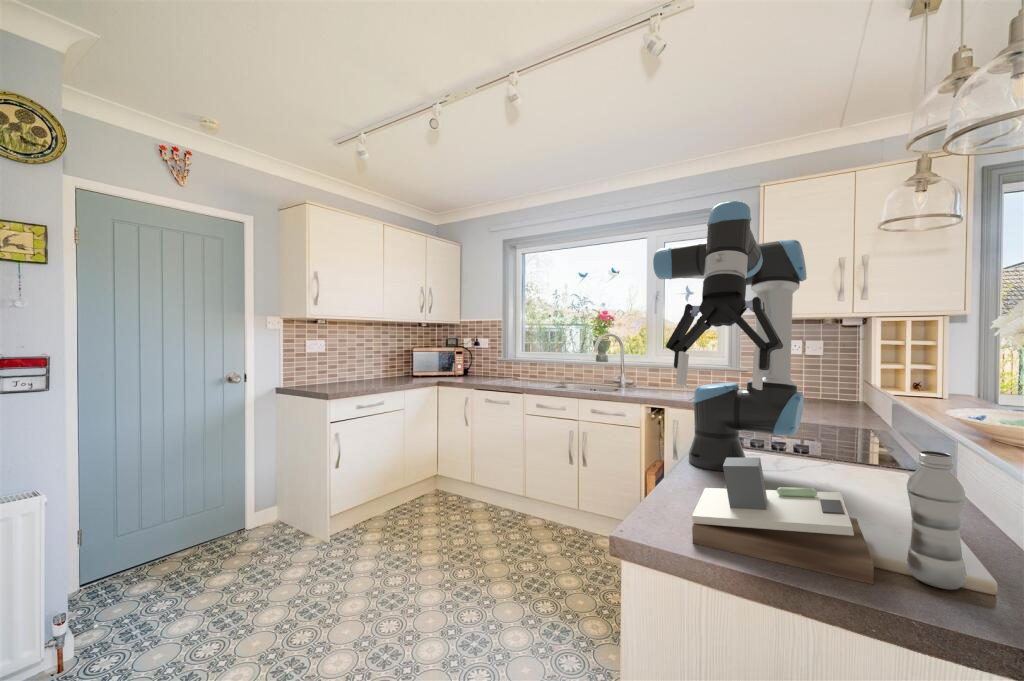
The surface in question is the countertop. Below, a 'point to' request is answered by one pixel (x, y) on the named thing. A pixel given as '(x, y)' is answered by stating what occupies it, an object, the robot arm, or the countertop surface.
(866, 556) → the walnut base
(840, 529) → the plate
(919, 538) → the plastic bottle
